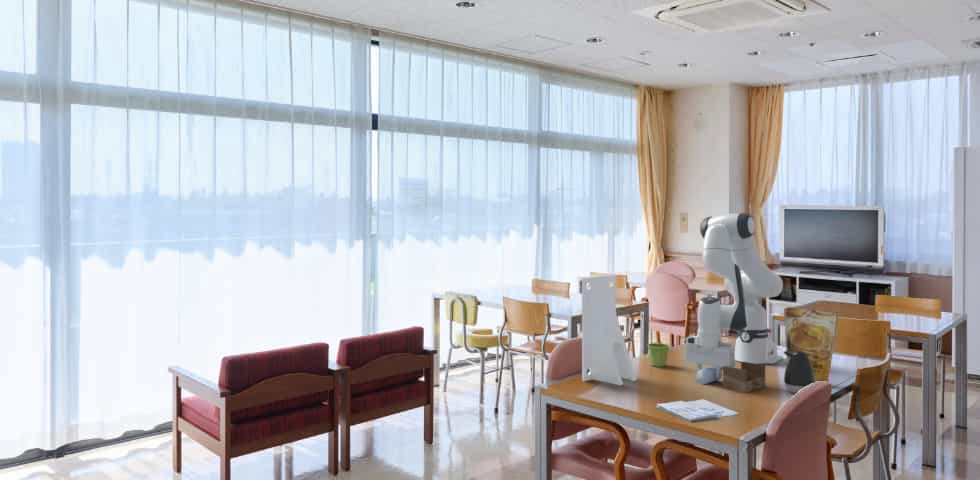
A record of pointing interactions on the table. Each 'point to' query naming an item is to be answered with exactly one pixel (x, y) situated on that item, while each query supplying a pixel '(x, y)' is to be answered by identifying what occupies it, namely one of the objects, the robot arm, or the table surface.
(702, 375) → the blue roll
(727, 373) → the open wooden box
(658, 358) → the plant pot
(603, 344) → the white bracket plate
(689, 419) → the light blue flat cloth
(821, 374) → the pancake mix bag
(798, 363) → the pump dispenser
